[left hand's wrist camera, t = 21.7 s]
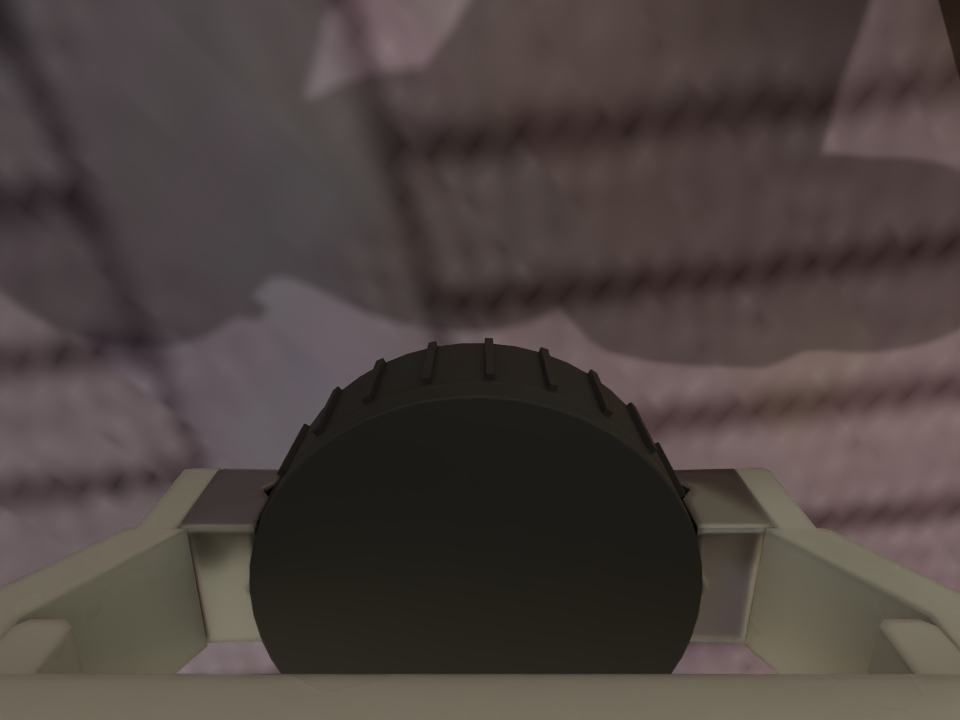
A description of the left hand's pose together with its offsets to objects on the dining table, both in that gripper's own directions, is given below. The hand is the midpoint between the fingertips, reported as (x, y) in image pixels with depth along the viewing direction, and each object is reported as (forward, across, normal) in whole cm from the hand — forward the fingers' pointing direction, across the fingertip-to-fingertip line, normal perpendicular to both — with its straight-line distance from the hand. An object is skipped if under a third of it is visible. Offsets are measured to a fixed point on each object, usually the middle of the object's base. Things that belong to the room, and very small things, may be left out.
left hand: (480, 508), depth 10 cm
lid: (-2, 0, 0) cm, 2 cm away
